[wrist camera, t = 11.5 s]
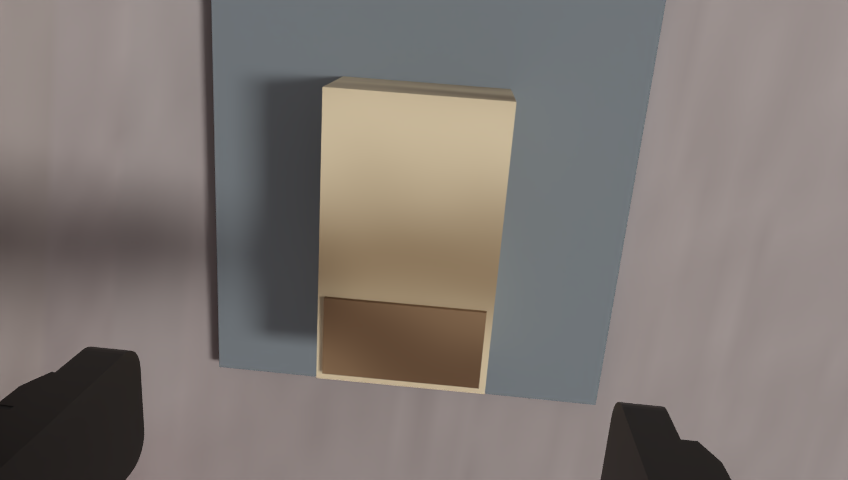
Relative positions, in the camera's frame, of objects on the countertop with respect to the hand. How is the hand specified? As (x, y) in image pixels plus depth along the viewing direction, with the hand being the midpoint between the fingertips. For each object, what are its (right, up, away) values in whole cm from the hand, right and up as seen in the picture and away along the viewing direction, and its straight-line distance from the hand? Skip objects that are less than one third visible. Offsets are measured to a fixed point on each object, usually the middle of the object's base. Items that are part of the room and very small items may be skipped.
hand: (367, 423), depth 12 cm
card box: (+1, +4, +10) cm, 11 cm away
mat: (+1, +8, +10) cm, 12 cm away
